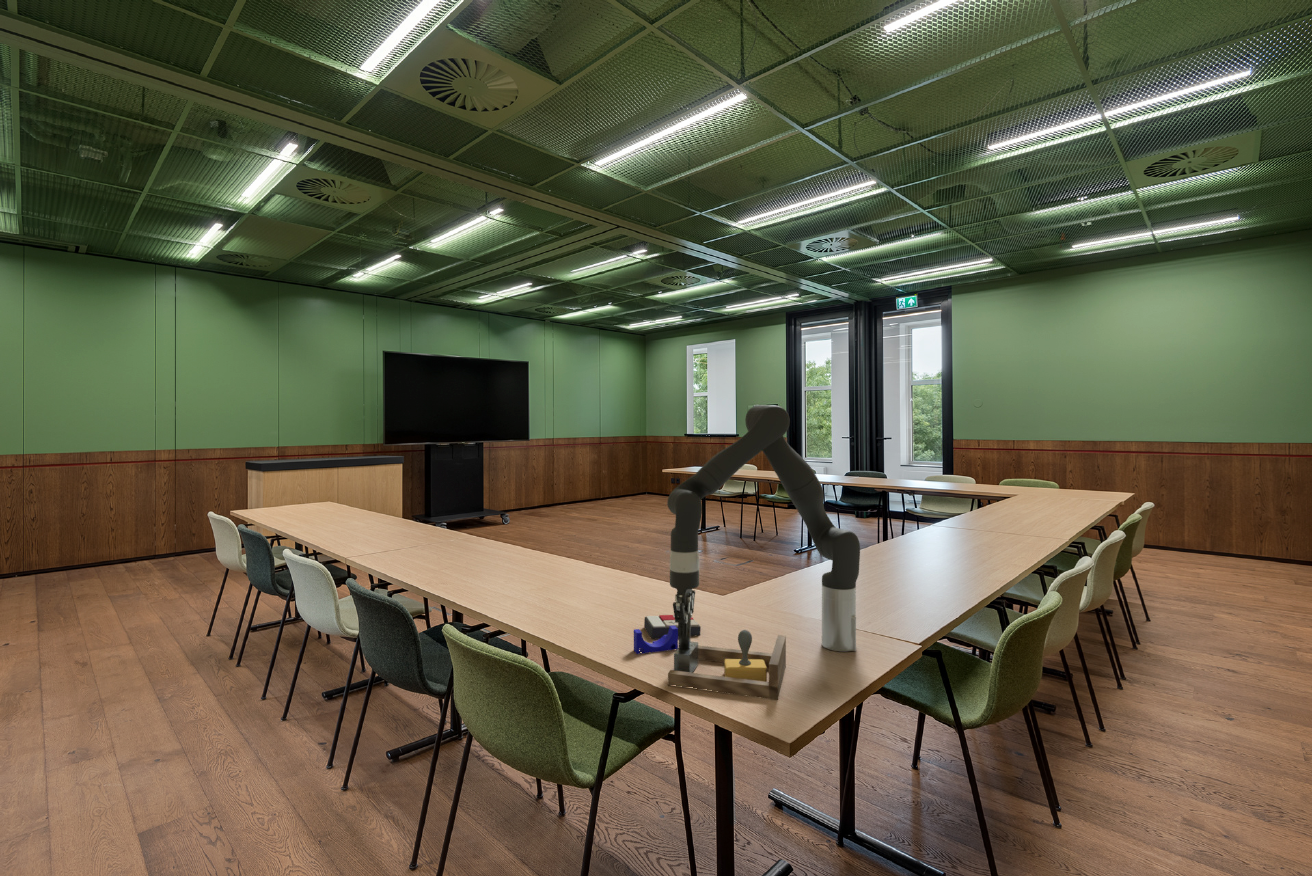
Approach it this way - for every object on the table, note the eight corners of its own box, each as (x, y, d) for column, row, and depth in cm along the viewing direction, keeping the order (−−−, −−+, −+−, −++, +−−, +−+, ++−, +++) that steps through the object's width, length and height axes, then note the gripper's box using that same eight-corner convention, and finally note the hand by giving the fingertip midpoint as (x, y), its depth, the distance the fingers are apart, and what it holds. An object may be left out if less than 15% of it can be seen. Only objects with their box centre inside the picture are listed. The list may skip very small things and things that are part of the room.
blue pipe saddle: (672, 644, 172) (672, 623, 172) (677, 649, 167) (677, 628, 167) (632, 649, 168) (632, 627, 168) (636, 654, 164) (636, 633, 164)
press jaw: (698, 663, 157) (698, 608, 156) (689, 677, 148) (689, 619, 147) (683, 661, 158) (683, 606, 157) (674, 675, 149) (673, 617, 148)
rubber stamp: (725, 682, 146) (725, 633, 145) (724, 672, 151) (724, 625, 151) (766, 683, 145) (767, 634, 145) (763, 673, 151) (763, 626, 151)
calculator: (701, 624, 179) (652, 625, 175) (700, 638, 179) (651, 640, 175) (690, 613, 189) (644, 614, 186) (690, 626, 189) (643, 627, 186)
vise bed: (785, 666, 155) (785, 635, 155) (777, 699, 136) (777, 665, 136) (688, 655, 163) (688, 626, 163) (668, 685, 144) (668, 652, 144)
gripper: (692, 575, 145) (692, 646, 145) (704, 562, 158) (704, 627, 158) (662, 573, 147) (662, 643, 147) (677, 560, 160) (677, 624, 160)
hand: (684, 634), depth 153 cm, fingers closed on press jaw, 3 cm apart
